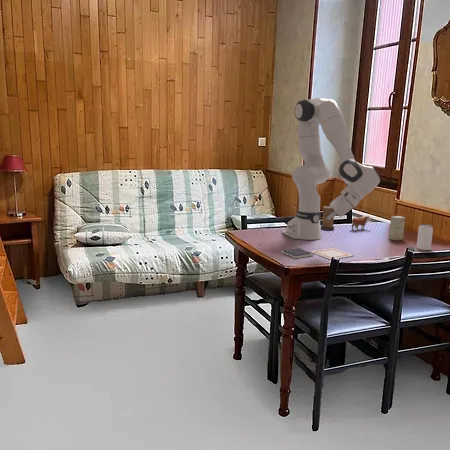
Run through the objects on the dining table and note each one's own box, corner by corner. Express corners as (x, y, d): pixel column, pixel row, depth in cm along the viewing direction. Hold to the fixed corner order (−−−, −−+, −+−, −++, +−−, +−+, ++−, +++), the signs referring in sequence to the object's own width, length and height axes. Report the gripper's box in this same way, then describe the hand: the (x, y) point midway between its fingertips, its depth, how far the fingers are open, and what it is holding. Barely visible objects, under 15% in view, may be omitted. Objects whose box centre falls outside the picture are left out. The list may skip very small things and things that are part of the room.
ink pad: (281, 253, 220) (281, 250, 220) (298, 250, 225) (298, 247, 225) (295, 259, 211) (295, 255, 211) (313, 256, 217) (313, 252, 216)
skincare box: (394, 240, 248) (396, 218, 246) (388, 238, 252) (390, 216, 250) (403, 239, 251) (405, 217, 248) (397, 237, 255) (399, 215, 252)
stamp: (319, 228, 220) (321, 206, 218) (332, 228, 220) (334, 206, 217) (321, 230, 214) (322, 208, 212) (334, 231, 214) (336, 208, 212)
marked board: (310, 252, 222) (310, 251, 222) (332, 248, 230) (332, 247, 229) (331, 260, 211) (331, 259, 211) (353, 256, 218) (353, 255, 218)
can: (416, 249, 231) (419, 226, 228) (416, 246, 237) (419, 223, 234) (430, 251, 229) (433, 227, 226) (430, 248, 235) (433, 224, 232)
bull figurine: (371, 229, 273) (373, 215, 272) (354, 231, 268) (355, 217, 266) (366, 227, 277) (367, 214, 275) (348, 229, 271) (349, 215, 270)
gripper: (341, 188, 223) (319, 208, 226) (348, 195, 203) (324, 216, 206) (350, 198, 223) (328, 218, 226) (358, 205, 204) (334, 227, 206)
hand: (326, 217), depth 216 cm, fingers closed on stamp, 4 cm apart
